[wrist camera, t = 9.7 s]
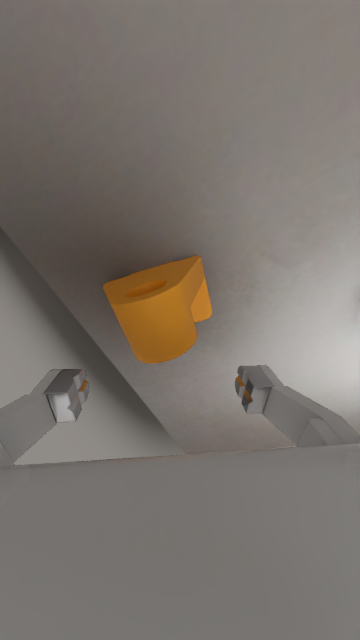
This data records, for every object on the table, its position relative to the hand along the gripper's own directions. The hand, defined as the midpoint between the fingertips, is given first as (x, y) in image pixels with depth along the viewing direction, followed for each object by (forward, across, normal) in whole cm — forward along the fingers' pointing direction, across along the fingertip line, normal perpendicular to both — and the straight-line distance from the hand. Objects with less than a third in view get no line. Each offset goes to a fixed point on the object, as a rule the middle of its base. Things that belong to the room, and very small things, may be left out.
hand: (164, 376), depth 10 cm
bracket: (+15, 0, 0) cm, 15 cm away
